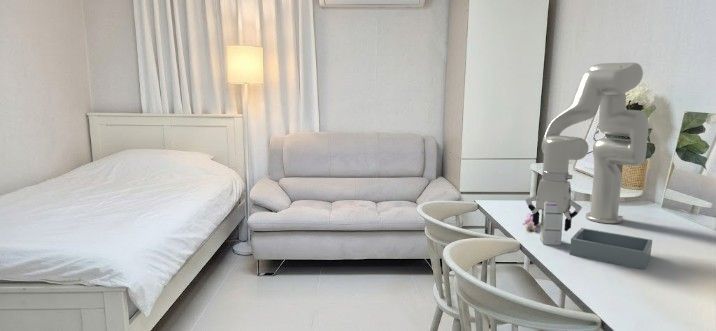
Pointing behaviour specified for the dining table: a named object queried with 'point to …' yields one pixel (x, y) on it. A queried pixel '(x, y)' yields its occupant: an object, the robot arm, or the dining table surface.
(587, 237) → the crate
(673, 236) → the dining table surface
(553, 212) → the syrup box
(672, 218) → the dining table surface
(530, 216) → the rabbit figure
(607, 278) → the dining table surface
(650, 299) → the dining table surface
